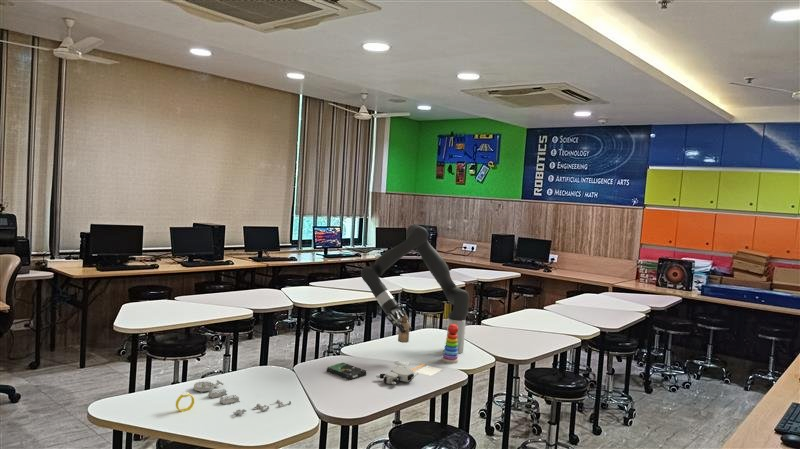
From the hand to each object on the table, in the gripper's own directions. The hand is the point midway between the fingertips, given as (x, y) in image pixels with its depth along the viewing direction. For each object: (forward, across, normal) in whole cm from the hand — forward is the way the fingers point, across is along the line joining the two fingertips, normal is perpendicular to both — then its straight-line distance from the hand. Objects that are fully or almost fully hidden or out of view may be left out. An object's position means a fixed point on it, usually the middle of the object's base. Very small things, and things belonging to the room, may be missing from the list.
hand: (407, 331), depth 251 cm
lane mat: (+15, -1, +8) cm, 17 cm away
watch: (-12, -97, +34) cm, 104 cm away
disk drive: (+2, -29, +21) cm, 36 cm away
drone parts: (-8, -76, +31) cm, 83 cm away
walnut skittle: (+2, 0, +5) cm, 6 cm away
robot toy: (+18, -22, +6) cm, 29 cm away
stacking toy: (+22, +20, +2) cm, 29 cm away
